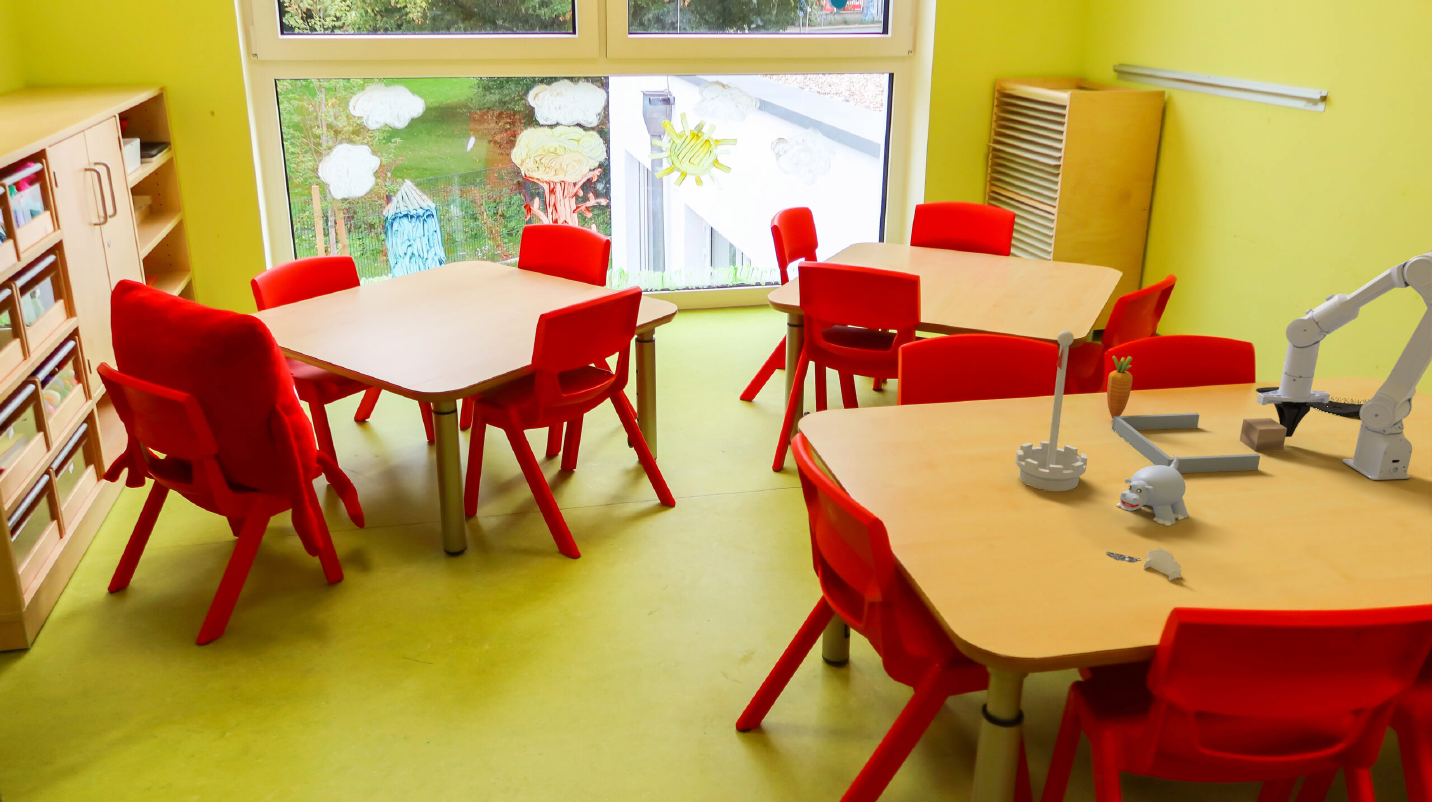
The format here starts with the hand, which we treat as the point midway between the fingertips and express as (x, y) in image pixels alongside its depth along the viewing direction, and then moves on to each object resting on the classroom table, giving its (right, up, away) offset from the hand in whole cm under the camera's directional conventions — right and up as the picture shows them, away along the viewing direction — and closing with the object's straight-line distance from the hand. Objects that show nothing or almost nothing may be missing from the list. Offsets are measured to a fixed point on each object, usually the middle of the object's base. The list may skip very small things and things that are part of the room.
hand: (1286, 435), depth 230 cm
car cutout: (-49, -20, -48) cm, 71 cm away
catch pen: (-22, -3, -2) cm, 22 cm away
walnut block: (-5, -2, 0) cm, 6 cm away
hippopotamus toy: (-41, -13, -30) cm, 53 cm away
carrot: (-31, +3, +14) cm, 34 cm away
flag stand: (-55, -8, -16) cm, 58 cm away
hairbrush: (+19, +6, +24) cm, 31 cm away
